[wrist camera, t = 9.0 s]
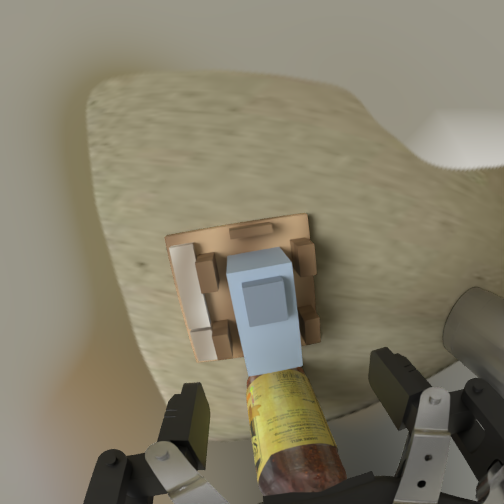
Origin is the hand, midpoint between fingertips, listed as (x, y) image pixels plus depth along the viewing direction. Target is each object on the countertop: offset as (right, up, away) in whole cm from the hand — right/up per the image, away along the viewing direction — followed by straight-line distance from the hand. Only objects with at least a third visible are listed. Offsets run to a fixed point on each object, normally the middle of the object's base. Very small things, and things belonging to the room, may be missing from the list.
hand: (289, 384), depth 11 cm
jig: (-1, +3, +11) cm, 12 cm away
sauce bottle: (+1, -7, +14) cm, 16 cm away
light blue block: (-1, +2, +10) cm, 11 cm away
